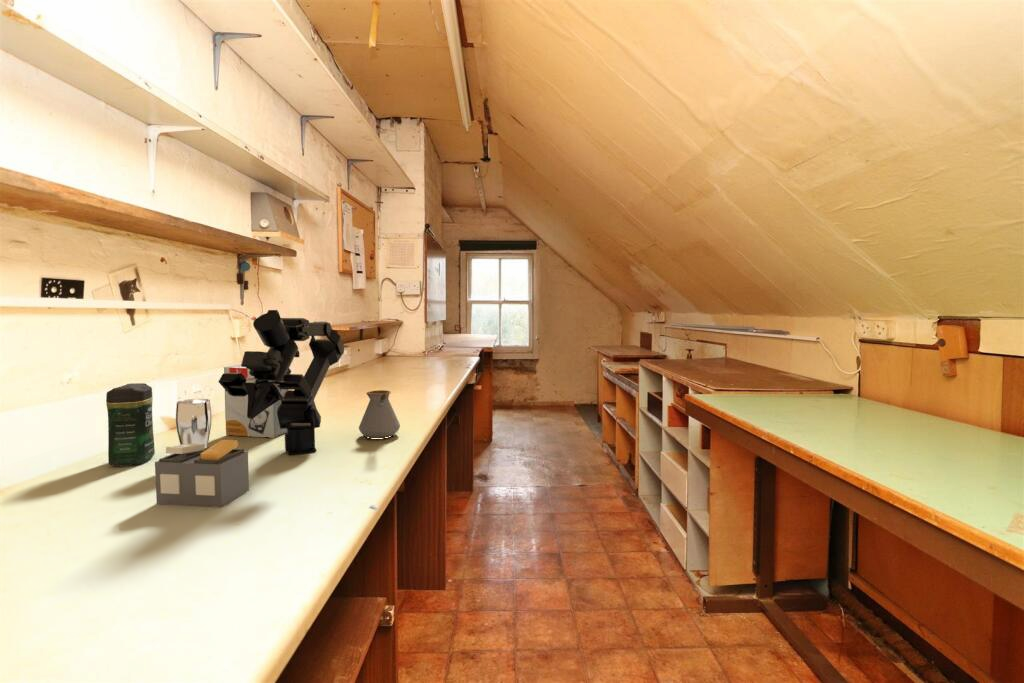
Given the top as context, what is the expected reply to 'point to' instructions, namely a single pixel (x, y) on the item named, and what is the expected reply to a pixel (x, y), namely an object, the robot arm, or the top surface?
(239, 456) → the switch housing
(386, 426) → the coffee pot
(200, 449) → the white rocker
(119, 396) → the coffee jar
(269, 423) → the hard drive box
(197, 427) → the beer glass
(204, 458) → the amber rocker
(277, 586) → the top surface
